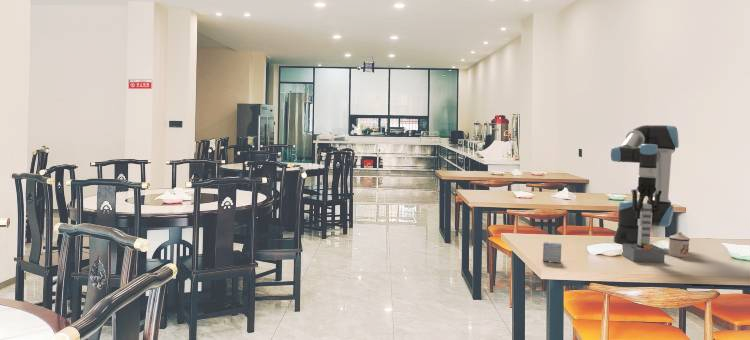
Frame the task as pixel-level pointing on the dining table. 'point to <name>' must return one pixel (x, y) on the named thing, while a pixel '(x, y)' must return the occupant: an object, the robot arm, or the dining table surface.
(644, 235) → the column
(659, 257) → the sleeve base
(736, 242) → the dining table surface
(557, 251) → the medicine box
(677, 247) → the teacup with lid
